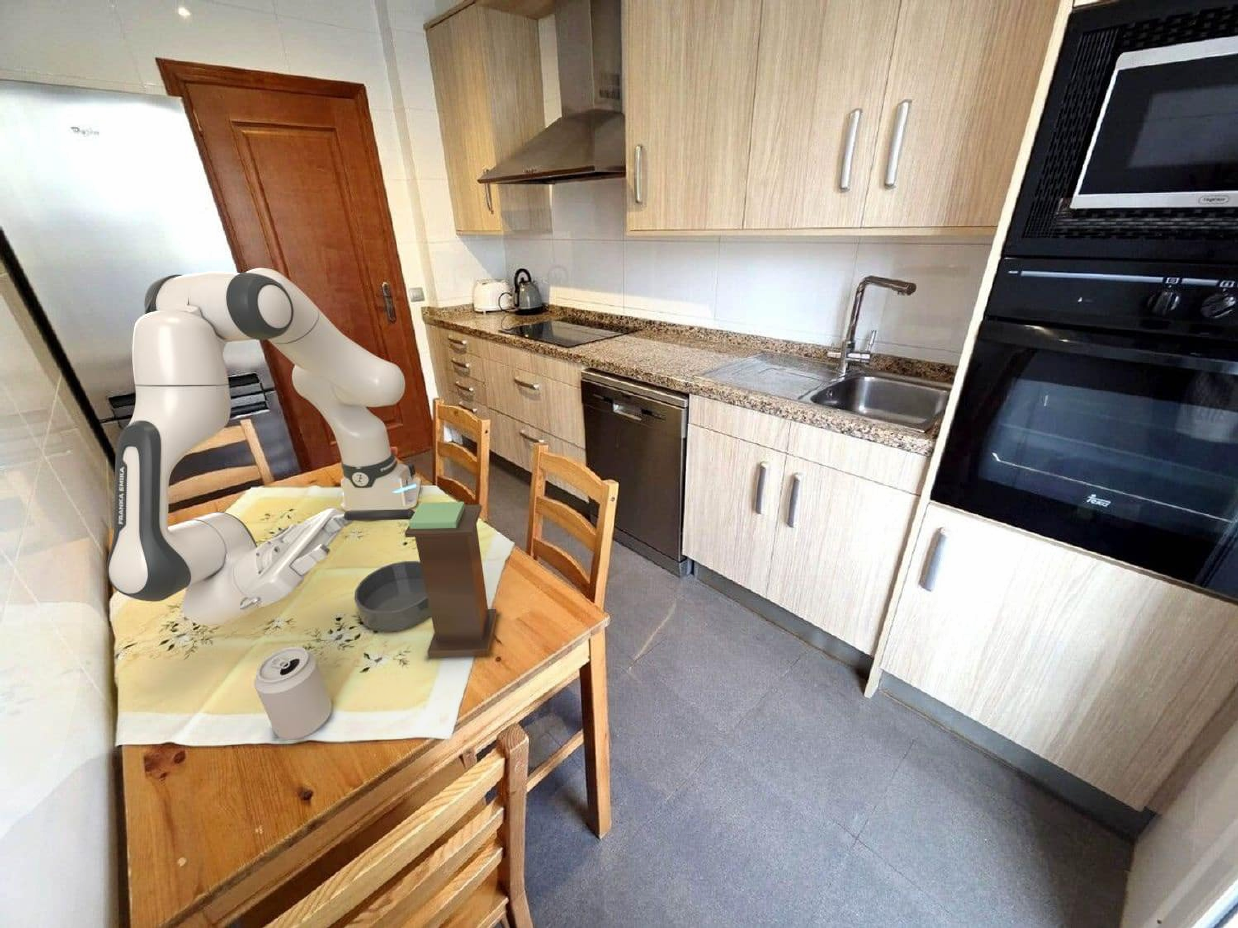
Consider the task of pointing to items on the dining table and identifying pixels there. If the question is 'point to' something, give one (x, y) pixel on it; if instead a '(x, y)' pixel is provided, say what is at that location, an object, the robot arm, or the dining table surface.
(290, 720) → the can
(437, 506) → the spatula
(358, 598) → the pan
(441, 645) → the stand
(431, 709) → the dining table surface
